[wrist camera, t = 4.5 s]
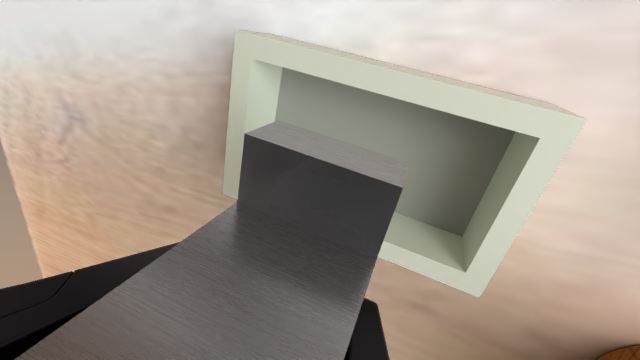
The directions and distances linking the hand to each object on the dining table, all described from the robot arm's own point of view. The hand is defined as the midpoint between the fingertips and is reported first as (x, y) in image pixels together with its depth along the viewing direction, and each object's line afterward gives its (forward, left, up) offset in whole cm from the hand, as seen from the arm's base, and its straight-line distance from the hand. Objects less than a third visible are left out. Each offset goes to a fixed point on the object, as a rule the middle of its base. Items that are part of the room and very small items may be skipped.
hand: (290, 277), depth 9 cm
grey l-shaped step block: (+1, 0, -2) cm, 2 cm away
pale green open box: (+1, 0, -10) cm, 10 cm away
